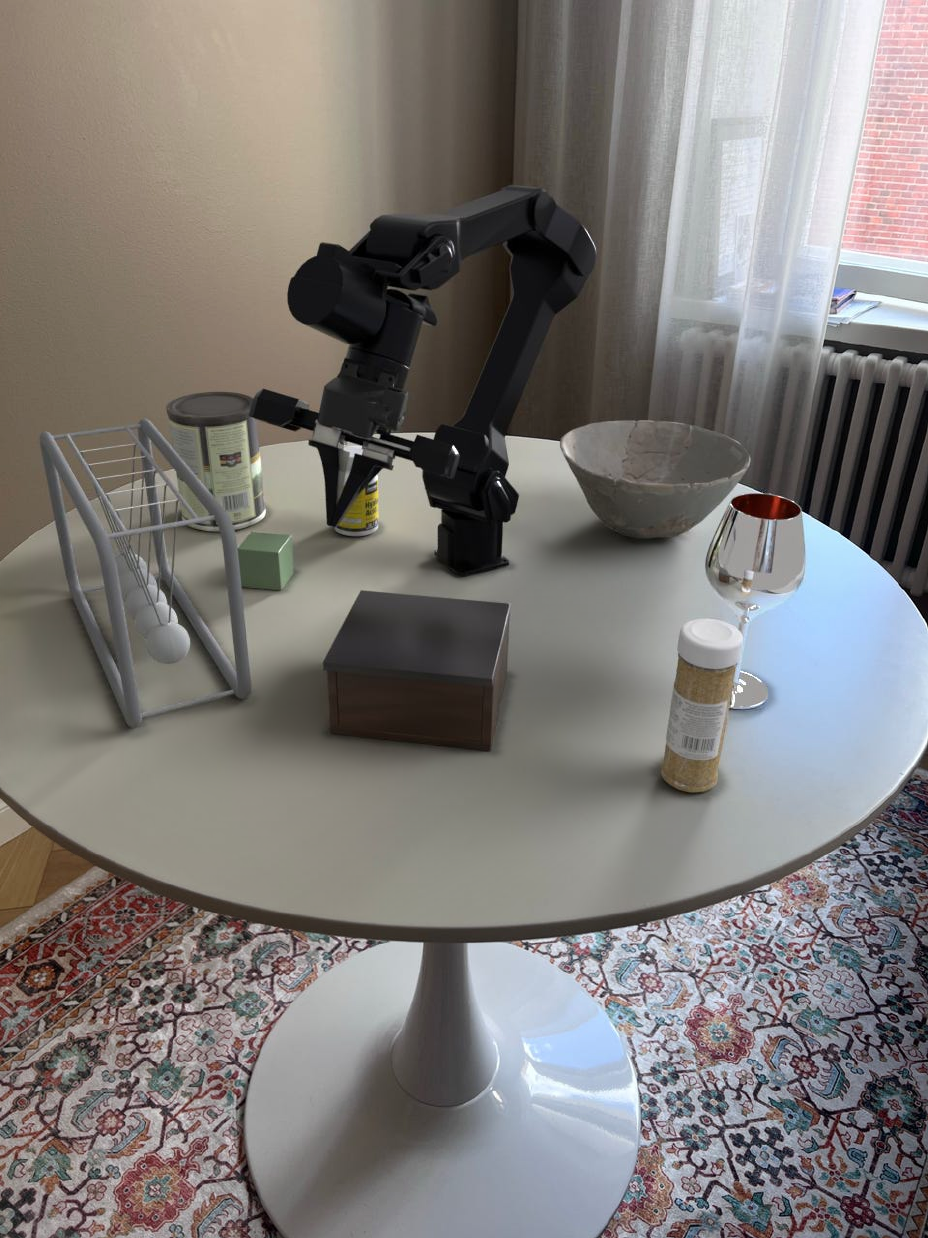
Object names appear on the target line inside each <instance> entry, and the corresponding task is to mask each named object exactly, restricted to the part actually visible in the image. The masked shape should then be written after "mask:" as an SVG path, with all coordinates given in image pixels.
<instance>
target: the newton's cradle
mask: <svg viewBox="0 0 928 1238" xmlns="http://www.w3.org/2000/svg"><path fill="white" fill-rule="evenodd" d="M136 429H137V435H138V437H137V436H136V435H135V433H134V432H133V431H132V430H136ZM121 431H125V432H127V434H128V435H129V436H130V437H131V439H132V440H133V442H134V443H129V444H121V445H114V446H107V447H100V448H99V447H98V448H94V449H86V450H79V449H78V447H77V445H76V444H75V442H74V441H73V439H72V438H75V437H76V438H77V437H83V436H90V435H99V434H106V433H115V432H121ZM60 439H61V440H62V439H66V440H67V443H68V444H69V446H70V447H71V449H72V451H73V453H74V454H75V455H76V457H77V459H78V461H79V462H80V465H81V466H82V467H83V470H84V471H85V473H86V474H87V477H88V478H89V480H90V481H91V483H92V485H93V488H94V490H95V493H96V496H97V499H98V501H99V503H100V505H101V507H102V510H103V513H104V516H105V518H106V520H107V523H108V526H109V528H110V531H111V533H107V531H106V528H104V526H103V524H102V522H101V519H100V518H99V517H98V515H97V513H96V511H95V509H94V507H93V506H92V504H91V502H90V500H89V499H88V497H87V495H86V494H85V492H84V490H83V488H82V487H81V485H80V483H79V481H78V479H77V477H76V476H75V473H74V472H73V470H72V468H71V466H70V465H69V463H68V461H67V459H66V458H65V456H64V454H63V452H62V450H61V448H60V446H59V445H58V443H57V442H56V440H60ZM152 444H153V445H154V446H155V447H156V449H157V450H158V451H159V452H160V454H161V455H162V456H163V457H164V459H165V460H166V461H167V463H169V466H171V467H172V469H173V470H174V471H175V473H176V472H177V473H178V475H179V476H180V477H181V478H182V480H183V481H184V482H185V483H186V485H187V486H188V487H189V488H190V490H191V491H192V492H193V493H194V494H195V496H196V497H197V498H198V499H199V501H200V502H201V503H202V504H203V506H204V507H205V508H206V509H207V511H208V512H209V513H210V514H211V516H206V517H201V518H198V516H197V515H196V514H195V512H194V511H193V510H192V508H191V507H190V506H189V505H188V503H187V502H186V501H185V499H184V498H183V497H182V496H181V494H180V493H179V489H177V488H176V486H175V485H174V483H173V482H172V481H171V480H170V478H168V475H166V474H165V472H164V471H163V470H162V469H161V467H160V465H158V463H157V462H156V460H155V459H154V454H153V447H152ZM128 446H133V457H129V458H122V459H116V460H115V459H114V460H108V461H101V462H94V463H89V464H88V463H87V461H86V458H85V456H84V453H85V452H92V451H97V450H98V451H99V450H106V449H113V448H120V447H128ZM39 447H40V452H41V458H42V462H43V468H44V473H45V477H46V478H45V479H46V482H47V487H48V493H49V497H50V502H51V503H50V504H51V509H52V513H53V518H54V522H55V528H56V533H57V538H58V543H59V544H58V545H59V548H60V554H61V558H62V563H63V569H64V575H65V578H66V582H67V586H68V589H69V593H70V595H71V597H72V599H73V603H74V604H75V607H76V609H77V611H78V613H79V614H78V615H79V616H80V619H81V621H82V623H83V626H84V628H85V630H86V633H87V635H88V637H89V639H90V641H91V644H92V646H93V648H94V651H95V653H96V655H97V658H98V660H99V663H100V665H101V667H102V669H103V672H104V674H105V676H106V679H107V681H108V683H109V686H110V688H111V690H112V693H113V695H114V698H115V701H116V702H117V704H118V707H119V709H120V711H121V714H122V717H123V718H124V721H125V723H126V724H127V726H128V727H130V728H133V729H135V728H138V727H140V726H141V724H142V721H143V718H146V717H147V718H148V717H151V716H154V715H159V714H162V713H165V712H169V711H173V710H178V709H181V708H185V707H188V706H192V705H197V704H201V703H204V702H208V701H212V700H216V699H220V698H223V697H227V696H232V695H234V696H236V698H237V699H240V700H246V699H247V698H248V697H249V696H250V695H251V692H252V677H251V670H250V669H251V667H250V659H249V650H248V649H249V648H248V637H247V631H246V630H247V629H246V628H247V627H246V619H245V610H244V609H245V608H244V599H243V587H241V578H240V568H239V558H238V541H237V534H236V530H234V527H233V524H232V521H231V519H230V516H229V515H228V513H227V512H226V511H225V509H224V508H223V507H222V506H221V505H220V504H219V502H218V501H217V500H216V499H215V498H214V496H213V495H212V494H211V493H210V492H209V490H208V489H207V488H206V487H205V486H204V485H203V483H202V482H201V481H200V480H199V479H198V477H197V476H196V475H195V474H194V473H193V472H192V470H191V469H190V468H189V467H188V466H187V464H186V463H185V462H184V461H183V460H182V458H181V457H180V456H179V455H178V454H177V453H176V451H175V450H174V449H173V446H172V444H170V443H169V441H168V440H166V438H165V437H164V436H163V434H162V433H161V432H160V431H159V429H157V427H156V426H155V425H154V424H153V423H152V422H151V420H149V419H147V418H142V419H140V421H139V422H138V423H137V424H129V425H122V426H115V427H113V426H112V427H107V428H99V429H91V430H84V431H77V432H68V433H61V434H53V435H52V434H51V433H50V432H49V431H43V432H41V433H40V434H39ZM137 447H138V448H139V449H140V456H136V448H137ZM136 459H141V463H142V471H137V472H135V469H136V468H135V467H136V465H135V464H136V463H135V462H136ZM127 460H132V472H130V473H124V474H116V475H110V476H103V477H96V476H95V473H94V471H93V469H92V467H91V466H94V465H100V464H107V463H113V462H120V461H121V462H123V461H127ZM156 472H157V473H158V475H159V476H160V478H161V479H162V480H163V481H164V482H165V483H164V484H163V483H162V484H157V476H156ZM141 473H142V475H141V476H142V477H141V487H138V488H134V487H135V485H134V484H135V474H141ZM128 475H129V476H130V475H132V476H131V489H126V490H119V491H113V492H106V493H105V492H104V489H103V487H102V484H101V481H100V480H102V479H109V478H116V477H123V476H128ZM59 477H60V478H59ZM60 480H61V482H62V483H63V485H64V487H65V489H66V491H67V494H68V495H69V496H70V498H71V499H70V500H71V501H72V503H73V505H74V506H75V508H76V510H77V512H78V514H79V516H80V518H81V520H82V521H83V523H84V525H85V527H86V530H87V531H88V533H89V535H90V537H91V539H92V541H93V543H94V546H95V549H96V552H97V556H98V560H99V564H100V571H101V576H102V580H103V585H98V586H93V587H89V588H83V589H82V587H81V583H80V579H79V576H78V575H79V574H78V572H77V566H76V561H75V556H74V551H73V545H72V540H71V534H70V529H69V524H68V520H67V514H66V513H67V512H66V508H65V503H64V497H63V492H62V487H61V482H60ZM163 486H164V488H163V490H164V491H163V501H160V499H159V490H158V487H163ZM167 486H168V487H169V489H170V490H171V491H172V493H173V494H174V495H175V497H176V499H171V500H167V499H166V498H167V497H166V496H167ZM144 489H145V490H146V492H145V493H146V499H147V503H146V504H143V503H144ZM138 490H141V493H140V495H141V496H140V505H136V506H134V505H133V504H134V503H133V502H134V491H138ZM125 492H131V493H130V494H131V495H130V496H131V497H130V506H128V507H123V508H118V509H114V506H113V504H112V500H111V499H110V496H109V495H113V494H118V493H125ZM171 502H175V515H174V522H167V523H165V512H166V503H171ZM179 502H181V503H182V505H183V506H184V507H185V509H186V510H187V511H188V513H189V514H190V515H191V517H192V518H193V519H189V520H184V521H183V520H178V510H179V509H178V508H179ZM160 504H162V512H161V505H160ZM143 507H148V511H149V520H150V523H149V524H150V525H149V526H144V527H142V521H143ZM135 508H140V513H139V528H133V529H132V525H133V524H132V520H133V509H135ZM129 509H130V513H129V515H130V516H129V529H127V528H126V527H125V524H124V522H123V520H122V517H121V515H120V513H119V511H123V510H129ZM212 520H215V521H216V522H217V525H218V527H219V530H220V532H219V534H220V537H221V541H222V542H221V543H222V552H223V560H224V561H223V562H224V570H225V579H226V588H227V598H228V607H229V617H230V627H231V633H232V634H231V635H232V644H233V653H234V662H235V668H234V666H233V665H232V664H231V662H230V661H229V659H228V657H227V656H226V654H225V653H224V651H223V649H222V648H221V646H220V645H219V643H218V642H217V640H216V639H215V637H214V636H213V633H212V632H211V631H210V629H209V628H208V626H207V624H206V623H205V621H204V619H202V617H201V615H200V614H199V612H198V611H197V609H196V607H195V606H194V604H193V603H192V601H191V600H190V598H189V597H188V595H187V593H186V592H185V590H184V588H183V587H182V585H181V584H180V582H179V581H178V579H177V577H176V576H175V575H174V572H175V571H174V570H175V557H176V556H175V555H176V542H177V541H176V539H177V538H176V537H177V528H178V527H185V526H187V525H190V524H196V523H201V522H207V521H212ZM172 528H174V529H173V545H172V560H171V566H170V563H169V560H168V554H167V549H166V542H165V541H166V540H165V533H164V530H166V529H172ZM145 533H149V539H148V556H147V557H148V558H147V563H146V561H145V560H144V559H143V558H142V557H141V538H142V534H145ZM133 535H138V546H137V551H138V552H137V554H136V553H135V550H134V548H133V546H132V544H131V540H132V539H131V538H132V536H133ZM112 539H114V541H115V543H116V546H117V548H118V551H119V553H120V554H117V555H116V556H115V552H114V548H113V545H112V542H111V540H112ZM152 539H153V547H154V553H155V560H156V563H157V564H156V565H157V567H158V574H154V575H153V574H152V573H151V572H150V566H151V565H150V563H151V549H152ZM161 578H162V579H163V581H164V582H165V584H166V586H167V587H168V589H169V590H170V591H169V592H170V593H169V604H168V600H167V597H166V595H165V593H164V591H162V589H161V588H160V586H161ZM156 579H157V580H156ZM101 590H104V592H105V597H106V603H107V608H108V609H107V610H108V614H109V621H110V625H111V626H110V627H111V633H112V637H113V643H114V648H115V655H116V660H117V665H116V662H115V659H114V658H113V655H112V653H111V651H110V649H109V647H108V644H107V643H106V640H105V638H104V636H103V634H102V632H101V630H100V627H99V625H98V622H97V621H96V618H95V616H94V614H93V611H92V609H91V607H90V605H89V603H88V601H87V597H86V596H85V593H92V592H97V591H101ZM173 597H174V599H175V601H177V603H178V606H180V608H181V610H182V611H183V613H184V614H185V616H186V618H187V619H188V621H189V623H190V624H191V626H192V627H193V629H194V631H195V632H196V634H197V636H198V637H199V639H200V640H201V642H202V644H203V646H204V647H205V649H206V650H207V652H208V654H209V655H210V658H211V659H212V660H213V661H214V663H215V665H216V667H217V668H218V670H219V671H220V674H221V675H222V676H223V678H224V679H225V681H226V683H227V685H228V687H230V690H226V691H222V692H218V693H214V694H209V695H205V696H202V697H199V698H195V699H191V700H186V701H183V702H179V703H175V704H171V705H167V706H163V707H159V708H156V709H152V710H147V711H144V712H142V707H141V701H140V696H139V690H138V684H137V680H136V673H135V672H136V671H135V666H134V660H133V655H132V649H131V643H130V636H129V632H128V631H129V630H128V625H127V618H126V613H125V609H126V612H127V614H128V616H129V617H130V618H131V619H132V620H134V626H135V629H136V631H137V634H138V635H139V636H141V638H142V639H144V640H145V647H146V650H147V653H148V655H149V656H150V657H151V659H153V660H154V661H156V662H157V663H160V664H163V665H173V664H176V663H179V662H181V661H182V660H183V659H184V658H185V657H186V656H187V655H188V653H189V651H190V647H191V638H190V635H189V633H188V631H187V630H186V628H185V627H184V626H183V625H181V624H179V623H178V616H177V613H176V612H175V610H174V609H173V607H172V603H173ZM124 603H125V605H124ZM124 606H125V607H124ZM117 666H118V667H117Z"/></svg>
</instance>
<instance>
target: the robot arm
mask: <svg viewBox="0 0 928 1238" xmlns="http://www.w3.org/2000/svg"><path fill="white" fill-rule="evenodd" d="M369 229H370V230H369V231H367V232H366V234H364V236H362V238H360V239H359V240H358V241H357V242H356V243H355V244H354V245H353V246H352V247H351V248H350V249H349V250H348V249H347V248H345V247H344V246H342V245H340V244H336V243H330V242H325V241H321V242H319V245H318V249H317V252H316V255H315V256H312V257H310V258H308V259H307V260H305V262H303V263H302V264H301V265H300V266H299V268H298V269H297V270H296V272H295V273H294V275H293V276H292V277H291V278H290V280H289V283H288V286H287V292H286V295H287V297H286V298H287V306H288V311H289V312H290V314H291V316H292V317H293V318H294V319H295V320H296V321H297V322H298V323H301V324H302V325H305V326H306V327H309V328H311V329H312V330H315V331H317V332H320V333H322V334H324V335H326V336H328V337H331V338H333V339H334V340H337V341H339V342H340V343H343V344H346V345H348V349H347V352H346V355H345V357H344V358H343V362H342V364H341V367H340V370H339V373H338V374H337V376H336V377H333V378H332V379H331V380H329V381H328V382H327V383H325V384H324V386H323V390H322V394H321V400H320V405H319V410H318V412H317V411H314V410H310V404H309V403H307V402H305V401H304V400H301V399H299V398H297V397H293V396H290V395H286V394H283V393H280V392H278V391H277V392H276V391H273V390H269V389H266V388H262V389H260V390H259V391H257V392H256V393H255V395H254V396H253V397H252V398H253V401H252V404H251V408H250V412H249V416H248V417H251V418H254V419H257V421H259V422H262V423H266V424H268V425H272V426H275V427H279V428H282V429H284V430H285V429H286V430H288V431H292V432H298V431H300V430H301V429H304V430H308V431H310V432H312V436H311V439H308V441H307V442H308V444H307V445H308V446H309V447H313V448H316V449H317V452H318V455H319V458H320V462H321V466H322V472H323V478H324V494H325V512H326V513H325V516H326V525H327V526H328V527H332V528H333V529H334V528H335V527H337V526H338V525H339V523H340V522H341V520H342V519H343V518H344V516H345V515H346V513H347V512H348V511H349V509H350V508H351V506H352V505H353V503H354V502H355V501H356V499H357V498H358V496H359V495H360V494H361V492H362V491H363V490H364V488H365V487H366V486H367V485H368V484H369V483H370V482H371V481H372V480H373V479H374V477H375V476H376V475H377V474H378V475H379V473H380V472H381V471H382V470H384V469H385V470H388V471H392V472H393V470H394V466H395V465H393V462H394V460H396V458H397V457H398V458H400V459H404V460H408V461H410V462H412V463H413V464H414V467H416V468H418V469H421V470H422V471H421V476H422V482H423V485H424V489H425V493H426V496H427V499H428V503H429V506H430V508H434V509H438V510H441V511H440V513H441V515H440V516H441V517H440V520H441V522H440V523H438V525H437V548H436V549H435V550H433V555H434V556H435V557H436V558H437V559H438V560H439V561H441V562H442V563H443V564H444V565H445V566H447V567H448V568H449V569H450V570H452V571H453V572H454V574H456V575H457V576H459V577H465V576H469V575H473V574H478V573H482V572H487V571H490V570H494V569H495V570H496V569H500V568H503V567H507V566H509V565H510V560H509V559H508V558H507V557H505V556H504V555H503V537H504V536H503V535H504V523H508V522H510V521H511V517H512V516H513V515H515V514H516V511H517V507H518V503H519V498H520V494H519V492H518V491H517V490H516V489H515V488H514V487H513V485H512V484H511V483H510V482H509V481H508V479H507V477H506V476H507V473H508V471H509V466H510V461H509V455H508V454H509V453H508V450H507V449H508V448H507V443H506V442H507V441H506V435H507V432H508V430H509V428H510V426H511V423H512V420H513V418H514V416H515V413H516V411H517V408H518V406H519V403H520V401H521V398H522V395H523V394H524V391H525V388H526V386H527V384H528V382H529V379H530V377H531V374H532V371H533V369H534V367H535V364H536V362H537V359H538V357H539V355H540V352H541V349H542V348H543V345H544V342H545V341H546V337H547V335H548V332H549V331H550V328H551V325H552V323H553V320H554V318H555V316H556V315H557V314H558V313H560V312H561V311H562V310H564V309H565V308H566V307H567V306H569V305H570V304H571V303H573V302H574V301H575V300H576V299H577V298H579V296H580V294H581V292H582V290H583V288H584V287H585V284H586V283H587V281H588V279H589V278H590V275H591V274H592V272H593V271H594V269H595V265H596V262H597V247H596V245H595V243H594V241H593V240H592V238H591V236H590V234H589V233H588V231H587V229H586V228H585V226H584V224H583V223H582V222H581V221H579V220H578V219H577V218H575V217H574V216H573V215H572V214H571V213H569V212H567V211H566V210H565V209H564V208H562V207H561V206H560V205H558V203H557V202H556V200H555V199H554V197H553V195H552V194H551V193H550V192H549V191H547V190H545V189H544V188H543V187H536V186H535V187H534V186H525V185H515V184H509V185H507V186H505V187H501V188H500V189H499V190H498V191H496V192H494V193H491V194H488V195H485V196H482V197H479V198H477V199H474V200H471V201H469V202H466V203H462V204H459V205H458V206H455V207H452V208H448V209H447V210H443V211H439V212H437V213H394V214H393V213H392V214H381V215H379V216H378V217H376V218H374V220H372V222H371V223H370V224H369ZM501 244H502V246H503V248H504V249H505V251H506V252H507V253H508V255H509V256H510V258H511V260H510V264H509V267H508V269H509V275H510V276H509V277H510V282H511V283H510V284H511V288H512V297H511V299H510V303H509V304H508V308H507V310H506V312H505V314H504V317H503V319H502V321H501V324H500V327H499V329H498V332H497V334H496V336H495V339H494V341H493V344H492V346H491V348H490V351H489V353H488V356H487V358H486V360H485V363H484V365H483V368H482V370H481V373H480V375H479V377H478V379H477V382H476V385H475V387H474V390H473V392H472V394H471V397H470V399H469V402H468V404H467V406H466V409H465V411H464V413H463V415H462V417H461V418H460V419H459V420H458V421H456V422H455V423H454V424H452V425H449V424H445V423H441V424H440V425H439V426H438V428H436V430H435V433H434V436H433V438H430V437H427V436H423V435H421V434H416V436H415V438H414V440H411V439H407V438H404V437H401V436H397V435H394V434H392V431H394V432H396V431H398V430H399V429H400V427H401V426H402V425H403V423H404V420H405V416H406V410H407V405H408V400H409V393H410V392H409V391H408V390H404V389H405V385H406V381H407V378H408V375H409V372H410V371H409V370H410V367H411V364H412V360H413V356H414V353H415V349H416V346H417V343H418V339H419V336H420V332H421V328H422V325H425V326H430V327H436V326H437V324H438V319H437V316H436V315H437V314H436V312H435V311H434V309H433V308H432V305H431V303H430V298H429V296H428V295H426V294H425V295H424V294H419V293H413V292H414V291H417V290H419V289H420V290H426V291H435V290H438V289H439V288H441V287H442V286H443V285H446V283H448V282H449V281H451V280H452V279H453V278H454V277H456V276H457V275H458V274H459V273H460V272H461V269H462V266H463V265H462V264H463V262H464V261H465V260H466V259H468V258H470V257H472V256H474V255H477V254H480V253H482V252H483V251H487V250H488V249H489V250H490V249H491V248H494V247H496V246H498V245H501ZM388 287H391V288H388ZM395 288H397V289H395ZM399 289H401V290H402V289H403V290H408V291H413V292H410V293H404V292H403V291H401V290H399ZM375 433H376V434H377V435H379V438H378V437H376V436H374V435H375ZM348 443H351V444H354V445H356V446H362V449H363V453H362V455H359V454H356V453H355V454H354V458H353V463H352V467H351V471H350V473H349V476H348V478H347V481H346V483H345V486H344V488H343V484H344V479H345V474H346V470H347V465H348V460H349V455H350V452H347V451H345V450H344V447H346V446H347V445H348ZM342 489H343V491H342Z"/></svg>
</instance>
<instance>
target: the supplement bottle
mask: <svg viewBox="0 0 928 1238" xmlns="http://www.w3.org/2000/svg"><path fill="white" fill-rule="evenodd" d="M344 450H345V451H347V452H350V455H349V460H348V465H347V470H346V474H345V479H344V484H343V488H344V486H345V483H346V481H347V478H348V476H349V473H350V471H351V467H352V463H353V458H354V454H355V453H356V454H359V455H362V453H363V449H362V446H360V445H348V446H347V445H346V446H344ZM342 491H343V489H342ZM378 528H379V473H378V474H377V475H376V476H375V477H374V479H373V480H372V481H371V482H370V483H369V484H368V485H367V486H366V487H365V488H364V490H363V491H362V492H361V494H360V495H359V496H358V498H357V499H356V501H355V502H354V503H353V505H352V506H351V508H350V509H349V511H348V512H347V513H346V515H345V516H344V518H343V519H342V520H341V522H340V523H339V525H338V526H337V527H335V528H334V527H333V529H334V530H335V531H336V532H337V533H338V534H340V535H343V536H348V537H365V536H370V535H371V534H373V533H375V532H376V531H377V530H378Z"/></svg>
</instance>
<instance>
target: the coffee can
mask: <svg viewBox="0 0 928 1238" xmlns="http://www.w3.org/2000/svg"><path fill="white" fill-rule="evenodd" d="M253 398H254V397H252V396H250V395H247V394H244V393H239V392H233V391H232V392H231V391H205V392H204V391H203V392H197V393H191V394H187V395H182V396H180V397H177V398H175V399H173V400H171V401H169V402H168V403H167V404H166V407H165V409H166V414H167V416H168V423H169V431H170V439H171V447H172V448H173V449H174V450H175V451H176V453H177V454H178V455H179V456H180V457H181V458H182V460H183V461H184V462H185V463H186V464H187V466H188V467H189V468H190V469H191V470H192V472H193V473H194V474H195V475H196V476H197V477H198V479H199V480H200V481H201V482H202V483H203V485H204V486H205V487H206V488H207V489H208V490H209V492H210V493H211V494H212V495H213V496H214V498H215V499H216V500H217V501H218V502H219V504H220V505H221V506H222V507H223V508H224V509H225V511H226V512H227V513H228V515H229V516H230V519H231V521H232V524H233V527H234V530H235V531H237V530H242V529H245V528H248V527H251V526H253V525H255V524H257V523H259V522H260V521H262V520H263V519H264V518H265V516H266V514H267V510H266V504H265V495H264V486H263V473H262V472H263V471H262V461H261V452H260V451H261V450H260V439H259V438H260V437H259V430H258V429H259V428H258V427H259V426H258V420H257V419H254V418H251V417H248V416H249V412H250V408H251V404H252V401H253ZM175 473H176V480H177V481H176V482H177V488H178V489H177V490H178V492H179V493H180V494H181V496H182V497H183V498H184V499H185V501H186V502H187V503H188V505H189V506H190V507H191V508H192V510H193V511H194V512H195V514H196V515H197V516H198V518H201V517H206V516H211V514H210V513H209V512H208V511H207V509H206V508H205V507H204V506H203V504H202V503H201V502H200V501H199V499H198V498H197V497H196V496H195V494H194V493H193V492H192V491H191V490H190V488H189V487H188V486H187V485H186V483H185V482H184V481H183V480H182V478H181V477H180V476H179V475H178V473H177V472H176V471H175ZM179 502H180V501H179ZM180 511H181V521H184V520H189V519H193V518H192V517H191V515H190V514H189V513H188V511H187V510H186V509H185V507H184V506H183V505H182V503H181V502H180ZM186 526H187V527H189V528H191V529H195V530H199V531H204V532H218V533H220V530H219V527H218V525H217V522H216V521H215V520H212V521H207V522H201V523H196V524H190V525H186Z"/></svg>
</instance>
